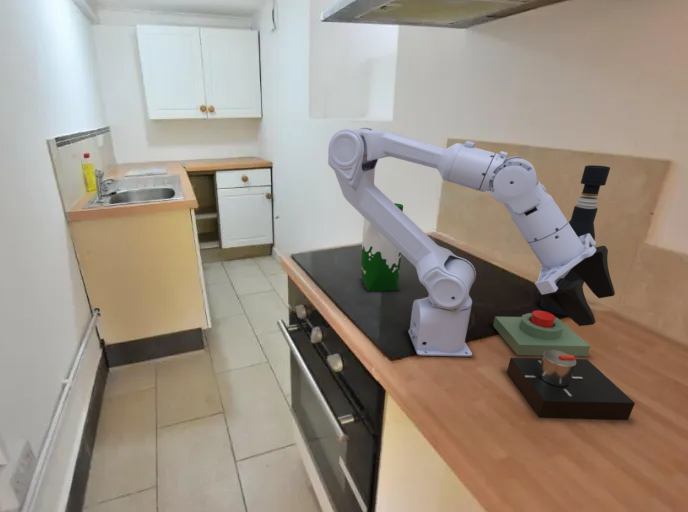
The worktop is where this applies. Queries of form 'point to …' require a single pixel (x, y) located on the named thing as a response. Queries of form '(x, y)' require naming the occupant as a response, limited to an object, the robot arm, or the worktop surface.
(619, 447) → the worktop surface
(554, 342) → the button block
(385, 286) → the milk carton
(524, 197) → the robot arm
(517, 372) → the control panel
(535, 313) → the red button
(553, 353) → the dial knob
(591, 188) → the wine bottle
